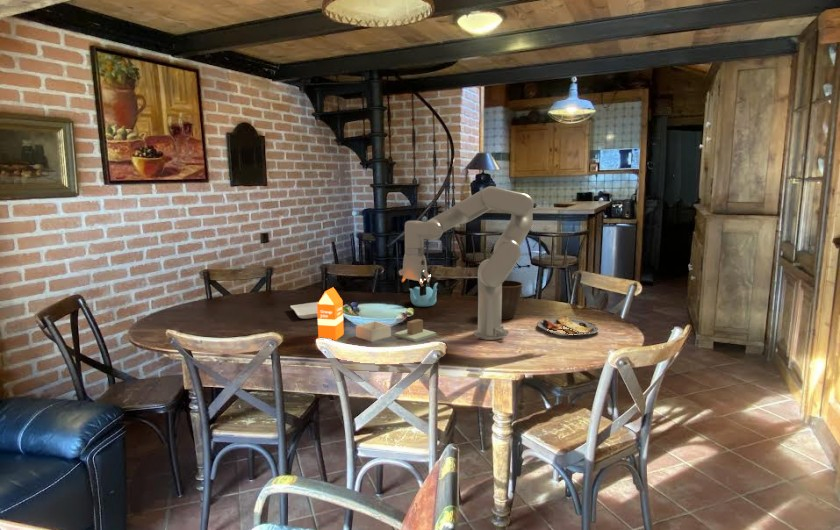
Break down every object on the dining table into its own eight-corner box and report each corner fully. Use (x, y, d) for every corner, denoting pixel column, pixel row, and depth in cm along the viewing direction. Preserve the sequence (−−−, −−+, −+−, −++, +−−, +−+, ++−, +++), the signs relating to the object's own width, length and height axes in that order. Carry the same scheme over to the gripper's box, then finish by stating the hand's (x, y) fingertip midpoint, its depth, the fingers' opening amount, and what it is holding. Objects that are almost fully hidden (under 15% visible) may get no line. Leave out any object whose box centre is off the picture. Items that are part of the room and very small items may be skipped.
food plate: (527, 324, 228) (527, 317, 228) (571, 320, 237) (572, 312, 236) (561, 343, 205) (562, 334, 205) (609, 336, 214) (610, 328, 213)
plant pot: (495, 322, 233) (496, 287, 230) (484, 314, 247) (485, 281, 245) (526, 320, 236) (527, 285, 233) (514, 312, 250) (515, 279, 248)
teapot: (411, 301, 275) (411, 281, 274) (439, 301, 274) (439, 282, 272) (408, 307, 261) (407, 287, 259) (438, 308, 260) (438, 288, 258)
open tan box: (391, 337, 213) (390, 325, 212) (372, 342, 206) (372, 330, 205) (375, 332, 220) (374, 320, 219) (356, 337, 213) (356, 325, 212)
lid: (435, 334, 214) (435, 320, 213) (415, 341, 206) (415, 326, 205) (415, 329, 223) (415, 315, 222) (394, 335, 214) (394, 321, 213)
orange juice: (344, 333, 218) (342, 287, 215) (336, 340, 210) (334, 291, 206) (326, 332, 220) (324, 286, 217) (318, 339, 211) (315, 291, 208)
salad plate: (298, 322, 238) (297, 314, 237) (289, 311, 257) (289, 304, 256) (343, 316, 246) (343, 309, 246) (331, 306, 266) (331, 300, 265)
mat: (439, 335, 214) (439, 334, 214) (415, 343, 204) (415, 342, 204) (415, 329, 224) (415, 328, 224) (391, 336, 214) (391, 335, 214)
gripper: (436, 252, 205) (436, 295, 208) (406, 248, 217) (406, 288, 220) (423, 254, 200) (423, 298, 203) (392, 250, 212) (393, 291, 215)
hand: (414, 293), depth 211 cm, fingers open, 9 cm apart
